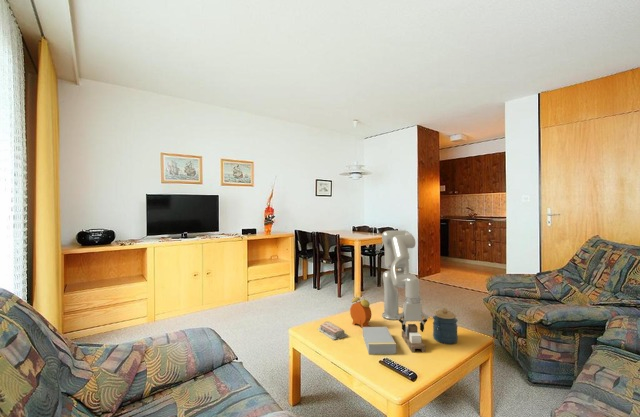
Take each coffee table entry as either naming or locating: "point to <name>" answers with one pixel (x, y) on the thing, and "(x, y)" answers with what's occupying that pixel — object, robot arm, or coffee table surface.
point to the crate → (415, 337)
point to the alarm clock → (360, 312)
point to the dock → (379, 340)
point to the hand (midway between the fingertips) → (412, 331)
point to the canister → (445, 327)
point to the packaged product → (332, 331)
